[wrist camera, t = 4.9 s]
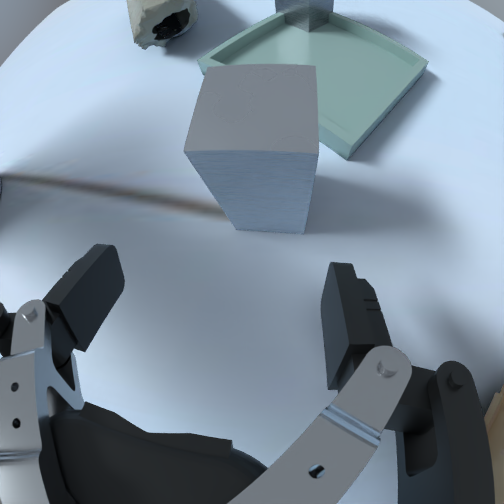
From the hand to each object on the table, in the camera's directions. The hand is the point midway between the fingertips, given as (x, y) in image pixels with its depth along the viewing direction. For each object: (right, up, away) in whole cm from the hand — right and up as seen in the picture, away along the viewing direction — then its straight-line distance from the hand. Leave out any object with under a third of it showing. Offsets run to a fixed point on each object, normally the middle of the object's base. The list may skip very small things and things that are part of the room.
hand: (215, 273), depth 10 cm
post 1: (+3, +4, +9) cm, 10 cm away
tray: (+8, +18, +11) cm, 23 cm away
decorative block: (-12, +35, +17) cm, 41 cm away
